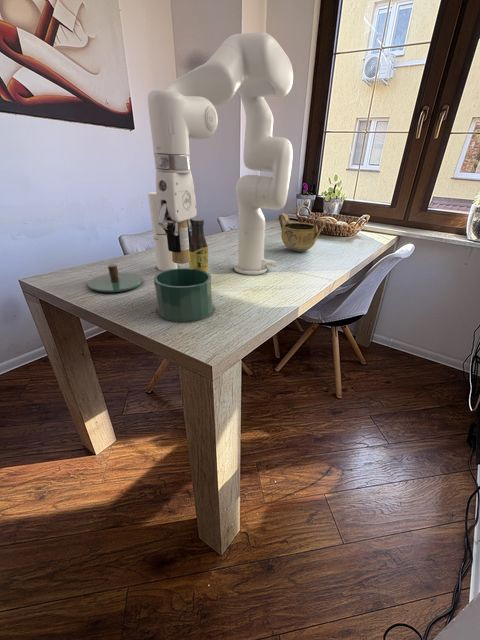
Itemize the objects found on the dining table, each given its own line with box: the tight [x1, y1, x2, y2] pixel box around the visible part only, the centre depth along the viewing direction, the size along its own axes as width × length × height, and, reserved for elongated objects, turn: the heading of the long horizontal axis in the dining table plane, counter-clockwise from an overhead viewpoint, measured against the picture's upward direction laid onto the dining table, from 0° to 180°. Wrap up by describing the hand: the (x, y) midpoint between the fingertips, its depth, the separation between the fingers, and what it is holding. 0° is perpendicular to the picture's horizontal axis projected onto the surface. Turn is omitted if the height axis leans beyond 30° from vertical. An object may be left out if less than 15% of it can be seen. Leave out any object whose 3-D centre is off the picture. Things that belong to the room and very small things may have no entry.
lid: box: [87, 263, 143, 293], centre depth 97 cm, size 16×16×6 cm
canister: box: [153, 267, 213, 323], centre depth 84 cm, size 15×15×10 cm
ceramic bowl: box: [278, 213, 327, 253], centre depth 142 cm, size 22×17×15 cm
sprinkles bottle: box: [169, 218, 190, 265], centre depth 75 cm, size 5×5×14 cm
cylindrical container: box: [147, 191, 178, 271], centre depth 109 cm, size 7×7×25 cm
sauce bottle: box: [188, 217, 209, 273], centre depth 100 cm, size 7×6×20 cm
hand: (180, 248), depth 77 cm, fingers closed on sprinkles bottle, 4 cm apart
